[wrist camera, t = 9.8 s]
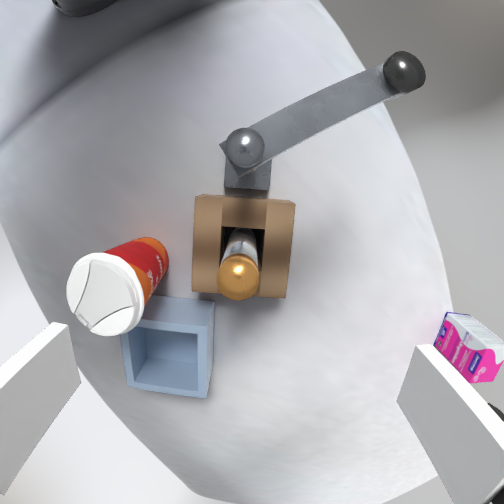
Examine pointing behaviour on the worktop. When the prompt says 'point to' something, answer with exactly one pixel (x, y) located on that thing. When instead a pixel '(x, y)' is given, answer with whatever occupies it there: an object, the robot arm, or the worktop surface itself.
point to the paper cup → (116, 285)
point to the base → (248, 177)
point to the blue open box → (171, 347)
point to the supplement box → (470, 347)
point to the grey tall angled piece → (322, 111)
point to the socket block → (245, 216)
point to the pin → (239, 266)
